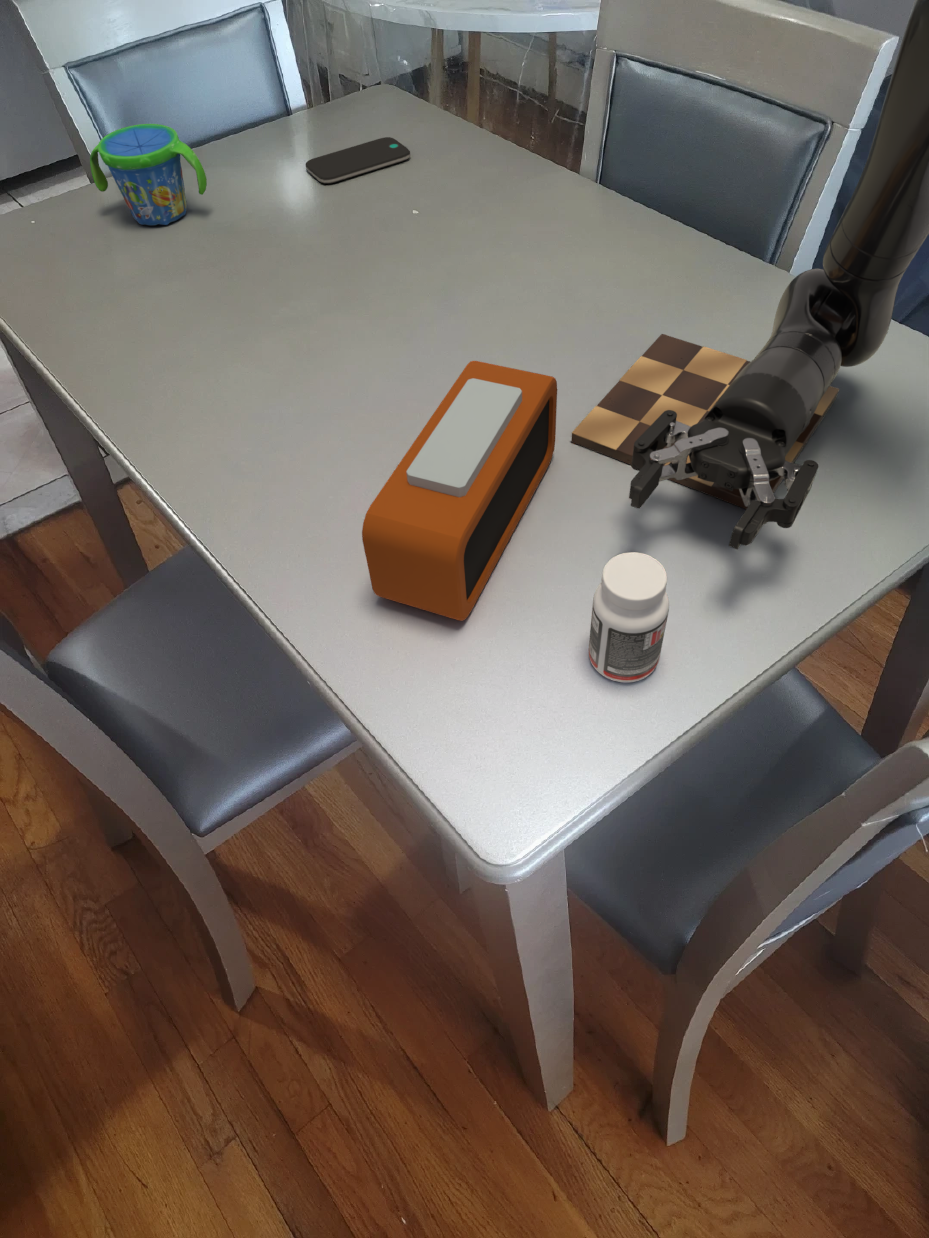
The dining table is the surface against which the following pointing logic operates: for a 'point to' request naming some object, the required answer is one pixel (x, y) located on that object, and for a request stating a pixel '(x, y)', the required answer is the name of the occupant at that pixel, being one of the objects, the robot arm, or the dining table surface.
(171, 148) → the snack cup
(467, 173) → the dining table surface
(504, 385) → the alarm clock
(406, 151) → the smartphone
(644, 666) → the pill bottle
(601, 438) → the chessboard
